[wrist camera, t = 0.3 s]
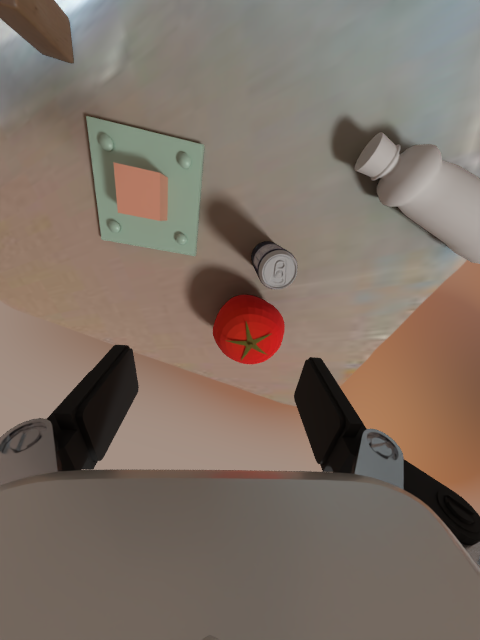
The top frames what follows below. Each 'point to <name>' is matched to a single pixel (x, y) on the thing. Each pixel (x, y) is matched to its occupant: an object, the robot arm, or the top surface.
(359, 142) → the top surface
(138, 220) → the baseplate
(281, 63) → the top surface
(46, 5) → the wooden block
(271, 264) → the beverage can
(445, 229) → the bottle
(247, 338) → the tomato
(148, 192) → the brick
